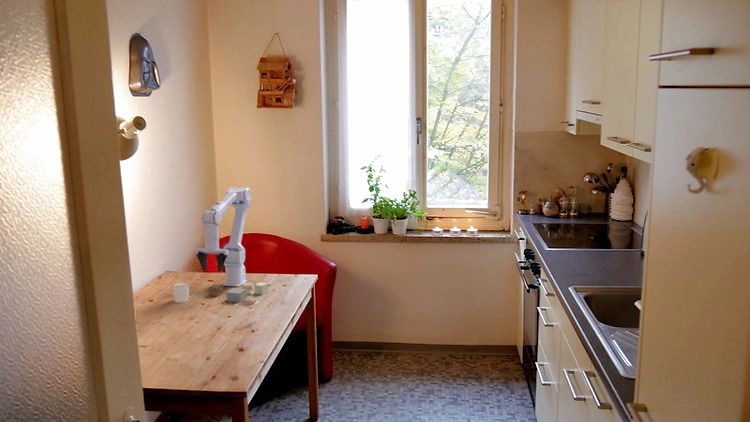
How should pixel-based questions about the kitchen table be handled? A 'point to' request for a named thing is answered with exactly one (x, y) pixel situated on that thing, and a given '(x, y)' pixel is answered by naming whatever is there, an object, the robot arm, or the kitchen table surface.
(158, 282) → the kitchen table surface
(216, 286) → the walnut cube
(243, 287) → the birch cube
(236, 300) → the slate base
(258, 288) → the sage cube
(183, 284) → the shot glass
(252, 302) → the swatch
